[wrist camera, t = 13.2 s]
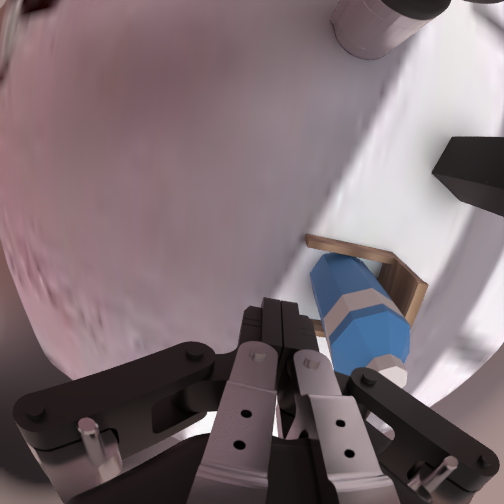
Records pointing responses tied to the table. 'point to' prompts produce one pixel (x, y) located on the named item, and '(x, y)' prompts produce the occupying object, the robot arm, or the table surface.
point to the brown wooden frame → (391, 276)
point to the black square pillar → (474, 171)
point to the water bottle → (359, 318)
